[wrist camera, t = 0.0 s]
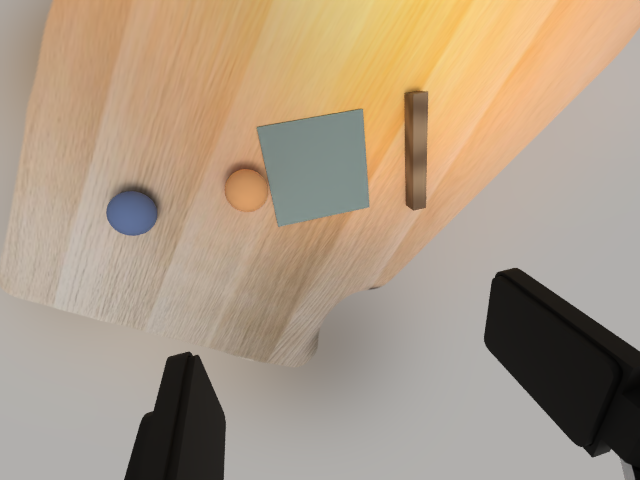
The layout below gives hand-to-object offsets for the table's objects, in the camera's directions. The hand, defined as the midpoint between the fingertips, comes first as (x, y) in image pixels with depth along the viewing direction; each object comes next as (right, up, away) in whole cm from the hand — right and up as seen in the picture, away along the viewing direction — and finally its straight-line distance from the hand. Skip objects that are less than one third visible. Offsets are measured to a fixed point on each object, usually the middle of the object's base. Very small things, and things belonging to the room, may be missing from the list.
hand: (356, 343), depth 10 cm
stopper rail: (+12, +16, +37) cm, 42 cm away
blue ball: (-24, +6, +30) cm, 39 cm away
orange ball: (-11, +10, +32) cm, 35 cm away
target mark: (-1, +13, +35) cm, 38 cm away
